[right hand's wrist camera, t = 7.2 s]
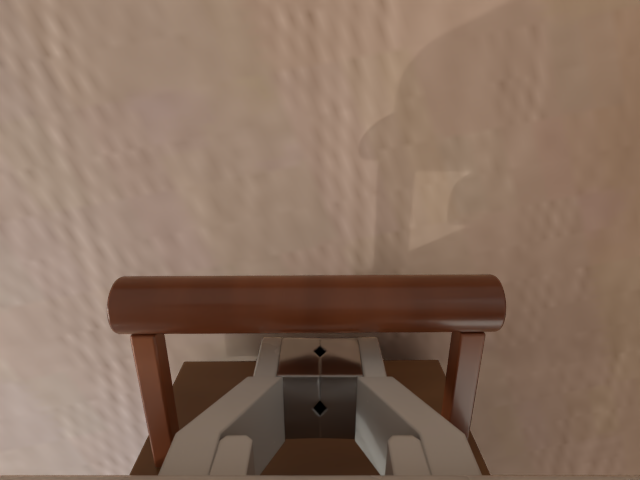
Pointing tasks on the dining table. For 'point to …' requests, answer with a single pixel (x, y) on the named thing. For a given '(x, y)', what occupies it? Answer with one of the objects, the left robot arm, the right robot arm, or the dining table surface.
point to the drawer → (301, 317)
